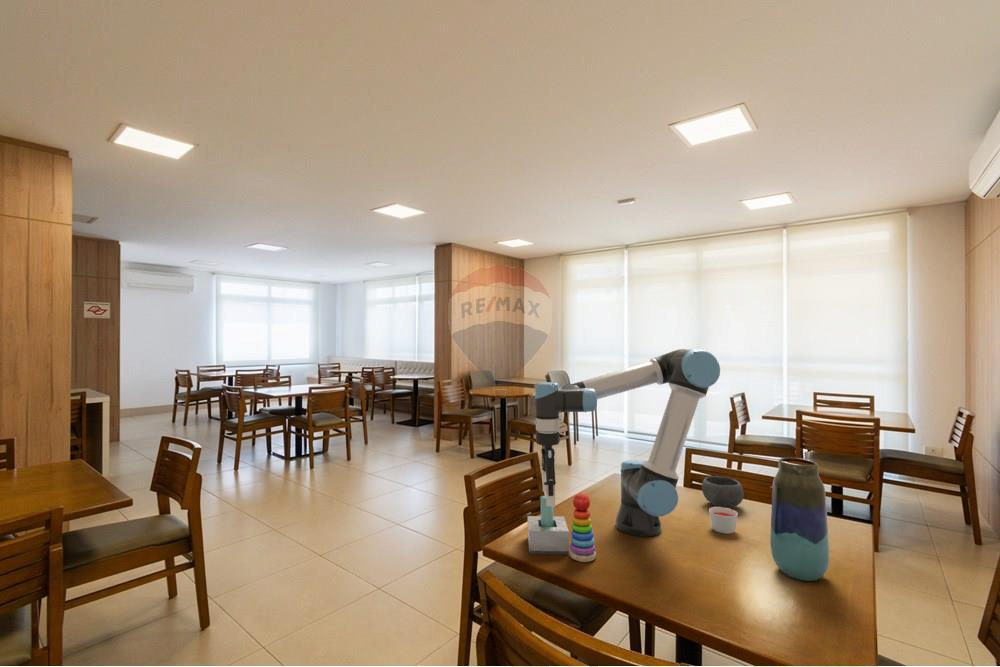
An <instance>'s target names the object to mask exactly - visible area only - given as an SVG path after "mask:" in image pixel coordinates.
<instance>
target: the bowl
mask: <svg viewBox="0 0 1000 667" xmlns="http://www.w3.org/2000/svg"><path fill="white" fill-rule="evenodd" d="M701 490H702V494H703V496H704V499H706V501H708V502H709V503H710V504H712V505H714V506H715V507H723V508H728V509H731V508H735V507H737V506H739V505H740V504H741V503H742V502H743V499H744V497H745V496H744V489H743V485H742V484H741V483H740V481H738V480H737V479H735V478H732V477H728V476H718V475H716V476H715V475H714V476H707V477H705V478H704V479H703V481H702V484H701Z"/></svg>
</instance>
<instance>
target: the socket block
mask: <svg viewBox="0 0 1000 667" xmlns="http://www.w3.org/2000/svg"><path fill="white" fill-rule="evenodd" d="M569 532H570V530H569V528H568V524H567V521H566V518H565V516H562V515H561V516H558V515H557V516H554V515H553V527H541V515H539V516H538V515H536V516H535V515H527V543H528V544H527V545H528V554H529V555H565V556H566V555H569V556H570V554H569V551H570V533H569Z"/></svg>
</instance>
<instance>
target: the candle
mask: <svg viewBox="0 0 1000 667" xmlns="http://www.w3.org/2000/svg"><path fill="white" fill-rule="evenodd" d="M708 512H709V518H710V522H711V528H712V530H714V531H715V532H718V533H721V534H727V535H730V534H731V535H732V534H733V533H735V531H736V526H737V522H738V515H739V512H738V511H736V510H734V509H731V508H723V507H718V506H713V507H710V508H708Z"/></svg>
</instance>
